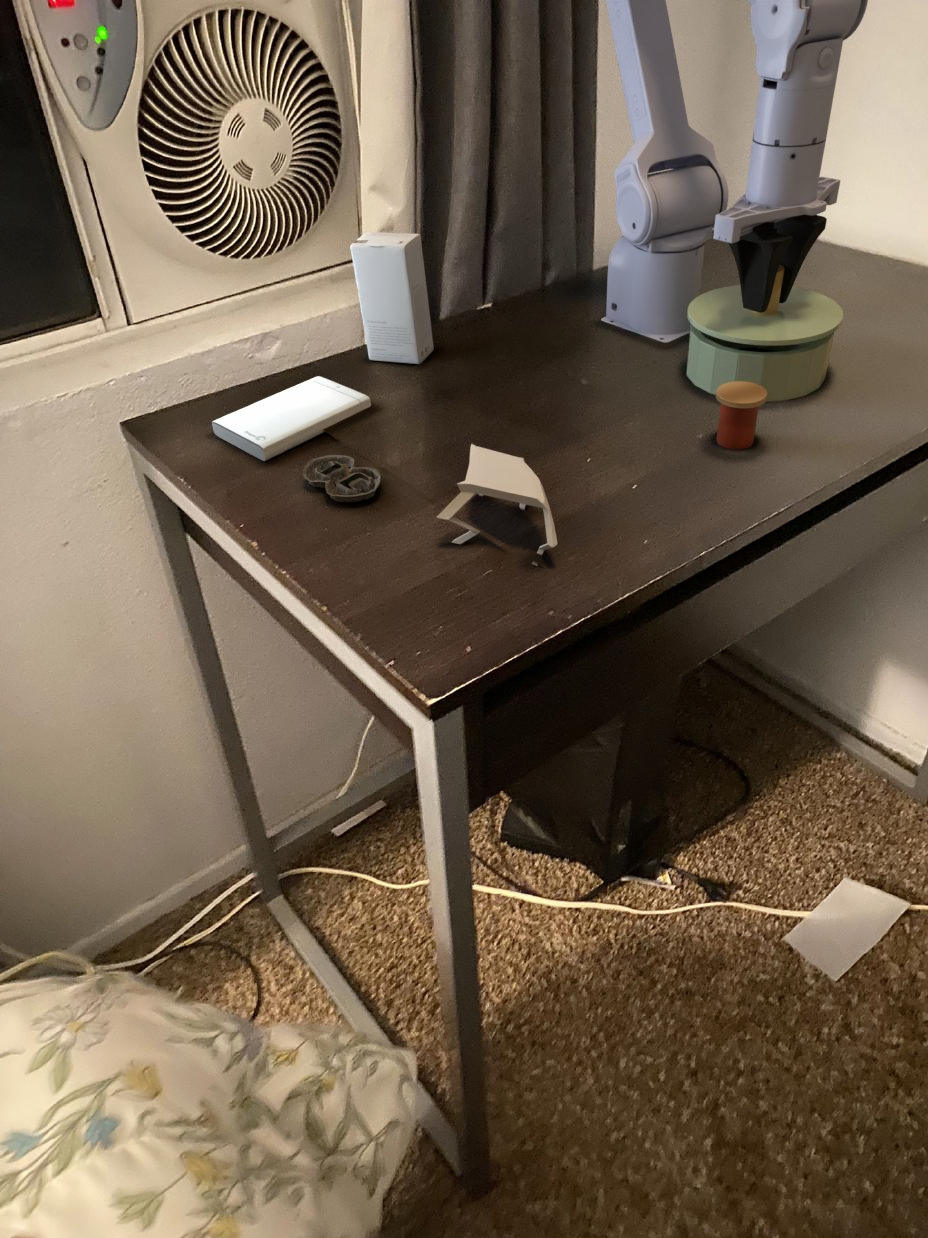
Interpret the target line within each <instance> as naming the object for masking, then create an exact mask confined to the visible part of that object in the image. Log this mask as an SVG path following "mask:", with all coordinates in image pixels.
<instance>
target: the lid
mask: <svg viewBox="0 0 928 1238" xmlns="http://www.w3.org/2000/svg"><path fill="white" fill-rule="evenodd" d="M784 270H785V268H784V267H783V266H781V265H780V266H779V268H778V271H777V274H776V278H775V282H774V286H773V291H772V295H771V299H770V302H769V305H768V307H767V309H766V311H764V312H762V313H759V312H755V311H752V310H749V309H745V308H743V303H742V294H741V286H740V284H735V285H730V286H729V285H728V286H723V287H718V288H714V289H712V290H709V291H705V292H704V293H702V294H701V293H700V295H699V296H698V297H696V298H695V299H694V300H693V301H691V303H690V304H689V306H688V310H687V317H688V320H689V322H690V323H691V324H692V325H693V326H694V327H695V328H696V329H698V330H700V331H701V332H703V333H705V334H707V335H710V336H713V337H715V338H719V339H722V340H726V341H730V342H735V343H741V344H750V345H763V346H779V345H793V344H800V343H806V342H810V341H815V340H818V339H821V338H824V337H826V336H828V335H830V334H832V333H833V332H834V333H836V331H837V330H838V329H840V327H841V326H842V324H843V321H844V311H843V308H842V307H841V306H840V304H838V302H836V301H835V300H833V299H832V298H830V297H829V296H826V295H824V294H822V293H819V292H817V291H813V290H810V289H805V288H801V287H797V286H793V287H792V289H791V292H790V294H789V296H788V298H787V300H786V302H784V303H779V301H780V295H781V288H782V282H783V276H784Z"/></svg>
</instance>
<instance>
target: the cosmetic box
mask: <svg viewBox="0 0 928 1238" xmlns="http://www.w3.org/2000/svg"><path fill="white" fill-rule="evenodd" d="M349 248H350V254H351V260H352V265H353V272H354V277H355V283H356V288H357V295H358V300H359V306H360V313H361V319H362V325H363V329H364V336H365V343H366V348H367V349H366V350H367V354H368V359H369V360H370V361H376V362H377V361H378V362H388V363H389V362H390V363H399V364H400V363H401V364H412V365H421V364H422V363H423V362H424V361H425V360H426V359H427V358H428V357H429V356H430V355H431V354H432V353H433V351H434V348H435V347H434V346H435V345H434V339H433V333H432V332H433V330H432V322H431V321H432V320H431V314H430V306H429V296H428V287H427V279H426V278H427V277H426V271H425V261H424V255H423V244H422V236H421V234H420V233H408V232H407V233H405V232H380V231H379V232H377V231H376V232H375V231H366V232H365V233H363V234H362V235H361V236H359V237H358V238H357V239H356V240H354V241H353V242H352V243H351V244H350V246H349Z"/></svg>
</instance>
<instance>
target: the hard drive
mask: <svg viewBox="0 0 928 1238" xmlns="http://www.w3.org/2000/svg"><path fill="white" fill-rule="evenodd" d="M370 407H372V402H371V398H370V396H368V395H366V394H364V393H362V392H360V391H357V390H355V389H353V388H350V387H347V386H345V385H344V384H340V383H338V382H336V381H333V380H330V379H328V378H326V377H323V376H320V375H318V376H314V377H313V378H310V379H308V380H305V381H302V382H301V383H299V384H296V385H294V386H291V387H289V388H286V389H285V390H282V391H280V392H277V393H275V394H273V395H270V396H268V397H266V398H263V399H261V400H258V401H256V402H254V403H252V404H250V405H248V406H245V407H243V408H240V409H238V410H236V411H233V412H230V413H228V414H226V415H224V416H222V417H220V418H217V419H215V420H212V421H211V425H212V426H211V427H212V429H213V433H214V435H215V436H217V437H218V438H220V439H222V440H223V441H226V442H227V443H229V444H231V445H233V446H235V447H237V448H238V449H240V450H242V451H244V452H246V453H247V454H249V455H251V456H253V457H254V458H257V459H259V460H260V461H263V462H266V461H268V460H270V459H272V458H274V457H276V456H279V455H281V454H283V453H284V452H286V451H289V450H291V449H293V448H295V447H298V446H299V445H301V444H303V443H306V442H307V441H310V440H312V439H313V438H315V437H317V436H319V435H321V434H324V433H325V432H326V430H325V429H327V428H330V427H331V426H334V425H335V424H337V423H339V422H342V421H343V420H346V419H347V418H350V417H352V416H353V415H356V414H358V413H360V412H362V411H364V410H366V409H369V408H370Z"/></svg>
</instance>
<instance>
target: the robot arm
mask: <svg viewBox="0 0 928 1238" xmlns="http://www.w3.org/2000/svg"><path fill="white" fill-rule="evenodd" d="M746 1H747V2H748V4H749V5H750V26H751V33H752V35H753V39H754V41H755V47H756V55H755V63H754V68H756V75H757V76H759V85H758V92H757V100H756V108H755V116H754V125H753V132H752V139H751V148H750V156H749V163H748V164H749V165H748V170H747V171H748V174H747V179H746V180H747V181H746V188H745V193H744V194H743V195H741V197H739V199H737V200H736V201H735V202H734V203H733V204H732V205H730V206H729V207H728V204H729V187H728V182H727V179H726V176H725V174H724V172H723V170H722V168H721V167H720V165H719V163H718V160H717V157H716V153H715V152H716V151H715V147H714V144H713V143H712V142H711V141H710V140H709V139H708V138H706V137H705V136H703V135H702V134H700V133H699V132H697V131H696V130H695V129H693V128H692V127H691V126H690V125H689V121H688V120H689V119H688V114H687V108H686V104H685V98H684V92H683V88H682V82H681V77H680V71H679V70H680V69H679V65H678V60H677V54H676V49H675V43H674V38H673V32H672V28H671V27H672V26H671V22H670V16H669V10H668V5H667V0H605V6H606V10H607V11H606V12H607V14H608V15H607V16H608V20H609V25H610V30H611V35H612V40H613V45H614V51H615V56H616V60H617V61H616V62H617V65H618V71H619V76H620V82H621V86H622V91H623V92H622V93H623V96H624V101H625V106H626V113H627V117H628V121H629V126H630V132H631V135H632V136H631V137H632V142H633V144H632V146H631V147H630V149H629V150H628V151H627V153H626V154H625V155H624V157H623V158H622V159H621V161H620V162H619V163H618V165H617V167H616V169H615V170H614V172H613V177H614V181H615V191H616V194H615V195H616V201H615V217H616V222H617V226H618V228H619V231H620V232H621V234H622V236H621V237H619V238H618V239H617V241H616V242H615V243H614V245H613V247H612V249H611V253H610V254H609V257H608V262H607V281H606V305H605V307H606V308H605V316H604V317H602V318H601V319H600V321H602V322H604V323H607V324H609V325H613V326H615V327H619V328H621V329H624V330H627V331H630V332H633V333H634V334H635V333H636V334H638V335H641V336H643V337H646V338H650V339H653V340H655V341H658V342H662V343H670V342H672V341H674V340H677V339H680V338H681V337H684V336H686V335H688V334H690V325H691V323H690V322H689V320H688V317H687V310H688V306H689V304H690V303H691V301H693V300H694V299H695V298H696V297H698V296H699V295H701V288H702V287H701V286H702V285H701V284H702V275H703V267H704V266H703V265H704V257H705V246H706V245H705V244H706V241H709V240H712V239H713V240H716V241H720V242H724V243H728V246H729V248H730V250H731V253H732V255H733V259H734V262H735V264H736V268H737V272H738V279H739V285H740V286H741V294H742V303H743V308H745V309H749V310H752V311H755V312H759V313H762V312H764V311H766V309H767V307H768V305H769V302H770V299H771V295H772V291H773V286H774V282H775V278H776V274H777V271H778V268H779V266H780V265H781V266H783V267H784V268H785V270H784V276H783V282H782V288H781V295H780V301H779V303H784V302H786V300H787V298H788V296H789V294H790V292H791V289H792V287H794V284H795V282H796V280H797V277H798V274H799V273H800V270H801V268H802V266H803V264H804V261H805V259H806V258H807V256H808V254H809V252H810V251H811V249H812V247H813V246H814V245H815V243H816V242H817V240H818V239H819V238H820V236H821V235H822V233H823V232H824V231H825V229H826V226H827V220H828V219H827V218H826V217H825V216H823V215H819V214H822V213H825V212H826V210H827V206H832V205H835V204H836V203H837V201H838V196H839V190H840V186H841V179H838V178H833V177H832V178H831V177H827V176H821V171H822V166H823V165H822V164H823V158H824V154H825V148H826V142H827V137H828V131H829V125H830V118H831V113H832V107H833V101H834V96H835V91H836V90H835V89H836V84H837V78H838V73H839V67H840V62H841V61H840V60H841V55H842V49H843V43H844V41H846V40H847V39H848V38H850V37H851V36H852V35H854V33H855V32H856V31H857V29H858V28H859V27H860V24H861V23H862V21H863V18H864V17H865V14H866V10H867V7H868V2H869V0H746Z"/></svg>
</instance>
